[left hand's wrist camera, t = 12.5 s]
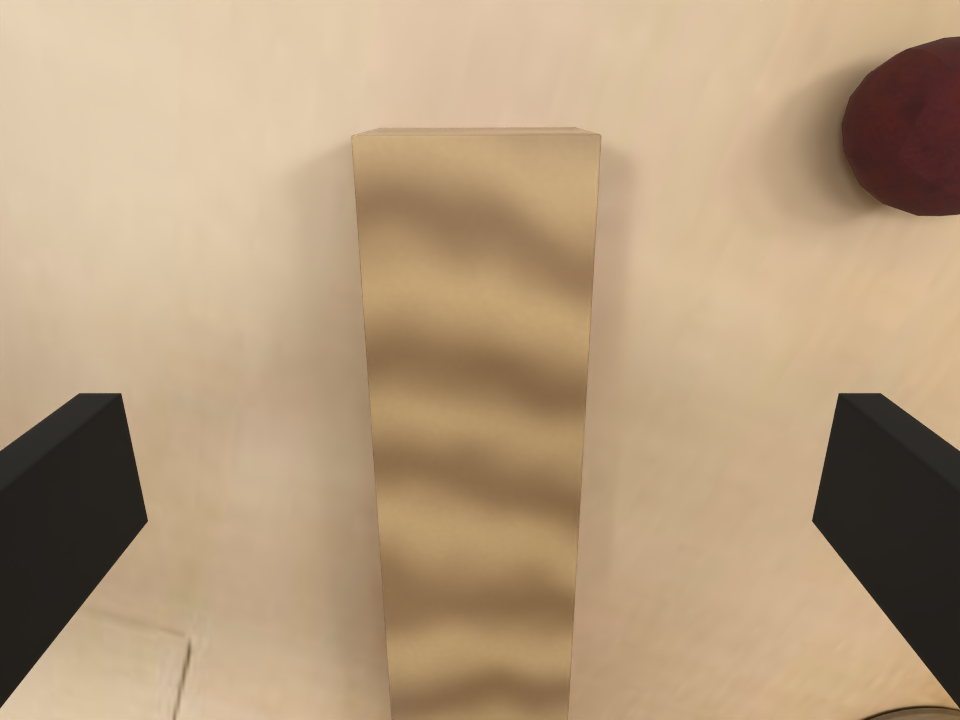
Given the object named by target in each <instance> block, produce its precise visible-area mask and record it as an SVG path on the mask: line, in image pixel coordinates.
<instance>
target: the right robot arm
mask: <svg viewBox="0 0 960 720" xmlns="http://www.w3.org/2000/svg"><path fill="white" fill-rule="evenodd" d="M870 720H960V711H956V710H951V709H942V708H916V709H908V710H901V711H896V712H892V713H888V714H884V715H881V716H878V717H875V718H872V719H870Z"/></svg>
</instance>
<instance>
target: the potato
mask: <svg viewBox="0 0 960 720" xmlns="http://www.w3.org/2000/svg"><path fill="white" fill-rule="evenodd" d="M842 130H843V143H844V152H845V154H846V156H847V159H848V161H849V163H850V165H851V167H852V169H853V171H854V174H855V176H856V178H857V180H858V181H859V183H860V185H861V186H862V187H863V188H864V189H866V190H867V191H868V192H869V193H870V194H872V195H873V196H874V197H875V198H877V199H878V200H879V201H880V202H881V203H883V204H886V205H888V206H891V207H894V208H897V209H900V210H903V211H906V212H909V213H911V214H914V215H917V216H946V215H958V214H960V37H949V38H942V39H939V40H936V41H932V42H929V43H926V44H922V45H919V46H916V47H912V48H909V49H906V50H904V51H902V52H900V53H899V54H897V55H895V56H894V57H892V58H891V59H889V60H888V61H886V62H885V63H883V64H882V65H880V66H879V67H878V68H876V69H875V70H873V71H872V72H870V73H869V74H868V75H867V76H866V77H865V78H864V80H863V81H862V82H861V84H860V85H859V86H858V88H857V89H856V90H855V91H854V93H853V94H852V95H851V97H850V98H849V101H848V105H847V108H846V112H845V115H844V118H843V122H842Z"/></svg>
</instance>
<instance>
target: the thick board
mask: <svg viewBox="0 0 960 720" xmlns="http://www.w3.org/2000/svg"><path fill="white" fill-rule="evenodd" d="M600 149H601V135H600V134H597V133H593V132H589V131H586V130H582V129H579V128H379V129H375V130H371V131H368V132H364V133H360V134H357V135H353V136H352V152H353V166H354V181H355V195H356V210H357V224H358V239H359V253H360V268H361V282H362V297H363V311H364V326H365V340H366V355H367V369H368V384H369V398H370V413H371V427H372V442H373V456H374V471H375V485H376V500H377V514H378V529H379V543H380V558H381V572H382V587H383V601H384V616H385V630H386V645H387V659H388V673H389V688H390V702H391V717H392V720H568V708H569V691H570V673H571V656H572V638H573V621H574V603H575V586H576V568H577V551H578V533H579V516H580V498H581V481H582V463H583V446H584V428H585V411H586V393H587V376H588V358H589V341H590V323H591V306H592V288H593V271H594V254H595V236H596V219H597V201H598V184H599V166H600Z"/></svg>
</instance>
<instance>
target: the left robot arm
mask: <svg viewBox="0 0 960 720" xmlns="http://www.w3.org/2000/svg"><path fill="white" fill-rule="evenodd" d="M147 522H148V519H147V514H146V509H145V505H144V500H143V495H142V490H141V486H140V481H139V476H138V471H137V466H136V462H135V457H134V452H133V447H132V443H131V438H130V433H129V428H128V423H127V419H126V414H125V409H124V404H123V400H122V395H121V393H79V394H78V395H76V396H75V397H74V398H72V399H71V400H70V401H68V402H67V403H66V404H64V405H63V406H61V407H60V408H59V409H57V410H56V411H55V412H53V413H52V414H50V415H49V416H48V417H46V418H45V419H44V420H42V421H41V422H40V423H38V424H37V425H35V426H34V427H33V428H31V429H30V430H29V431H27V432H26V433H25V434H23V435H22V436H20V437H19V438H18V439H16V440H15V441H14V442H12V443H11V444H9V445H8V446H7V447H5V448H4V449H3V450H1V451H0V708H1V707H2V705H3V704H4V703H5V702H6V700H7V699H8V698H9V697H10V695H11V694H12V693H13V691H14V690H15V689H16V688H17V686H18V685H19V684H20V683H21V681H22V680H23V679H24V678H25V676H26V675H27V674H28V672H29V671H30V670H31V669H32V667H33V666H34V665H35V664H36V662H37V661H38V660H39V659H40V657H41V656H42V655H43V653H44V652H45V651H46V650H47V648H48V647H49V646H50V645H51V643H52V642H53V641H54V639H55V638H56V637H57V636H58V634H59V633H60V632H61V631H62V629H63V628H64V627H65V626H66V624H67V623H68V622H69V620H70V619H71V618H72V617H73V615H74V614H75V613H76V612H77V610H78V609H79V608H80V607H81V605H82V604H83V603H84V601H85V600H86V599H87V598H88V596H89V595H90V594H91V593H92V591H93V590H94V589H95V588H96V586H97V585H98V584H99V582H100V581H101V580H102V579H103V577H104V576H105V575H106V574H107V572H108V571H109V570H110V569H111V567H112V566H113V565H114V563H115V562H116V561H117V560H118V558H119V557H120V556H121V555H122V553H123V552H124V551H125V550H126V548H127V547H128V546H129V544H130V543H131V542H132V541H133V539H134V538H135V537H136V536H137V534H138V533H139V532H140V530H141V529H142V528H143V527H144V525H145V524H146V523H147ZM812 522H813V523H814V524H815V525H816V527H817V528H818V529H819V530H820V532H821V533H822V534H823V536H824V537H825V538H826V539H827V541H828V542H829V543H830V544H831V546H832V547H833V548H834V550H835V551H836V552H837V553H838V555H839V556H840V557H841V558H842V560H843V561H844V562H845V563H846V565H847V566H848V567H849V569H850V570H851V571H852V572H853V574H854V575H855V576H856V577H857V579H858V580H859V581H860V582H861V584H862V585H863V586H864V588H865V589H866V590H867V591H868V593H869V594H870V595H871V596H872V598H873V599H874V600H875V601H876V603H877V604H878V605H879V607H880V608H881V609H882V610H883V612H884V613H885V614H886V615H887V617H888V618H889V619H890V620H891V622H892V623H893V624H894V626H895V627H896V628H897V629H898V631H899V632H900V633H901V634H902V636H903V637H904V638H905V639H906V641H907V642H908V643H909V645H910V646H911V647H912V648H913V650H914V651H915V652H916V653H917V655H918V656H919V657H920V659H921V660H922V661H923V662H924V664H925V665H926V666H927V667H928V669H929V670H930V671H931V672H932V674H933V675H934V676H935V678H936V679H937V680H938V681H939V683H940V684H941V685H942V686H943V688H944V689H945V690H946V691H947V693H948V694H949V695H950V697H951V698H952V699H953V700H954V702H955V703H956V704H957V705H958V707H959V708H960V451H959V450H957V449H956V448H955V447H953V446H952V445H951V444H949V443H948V442H946V441H945V440H944V439H942V438H941V437H940V436H938V435H937V434H935V433H934V432H933V431H931V430H930V429H929V428H927V427H926V426H925V425H923V424H922V423H920V422H919V421H918V420H916V419H915V418H914V417H912V416H911V415H910V414H908V413H907V412H905V411H904V410H903V409H901V408H900V407H899V406H897V405H896V404H894V403H893V402H892V401H890V400H889V399H888V398H886V397H885V396H884V395H882V394H881V393H839V395H838V400H837V404H836V409H835V414H834V419H833V423H832V428H831V433H830V438H829V443H828V447H827V452H826V457H825V462H824V466H823V471H822V476H821V481H820V486H819V490H818V495H817V500H816V505H815V509H814V514H813V519H812Z"/></svg>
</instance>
